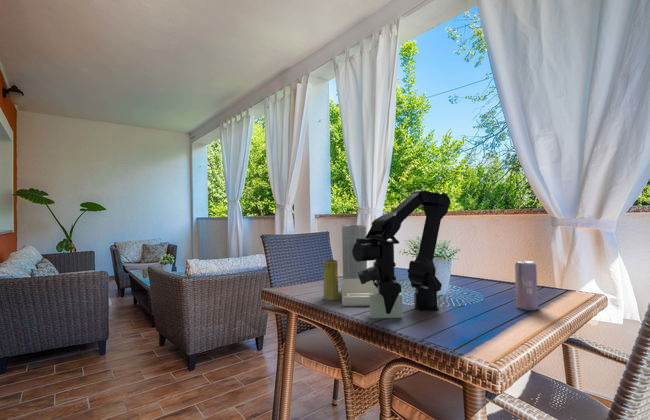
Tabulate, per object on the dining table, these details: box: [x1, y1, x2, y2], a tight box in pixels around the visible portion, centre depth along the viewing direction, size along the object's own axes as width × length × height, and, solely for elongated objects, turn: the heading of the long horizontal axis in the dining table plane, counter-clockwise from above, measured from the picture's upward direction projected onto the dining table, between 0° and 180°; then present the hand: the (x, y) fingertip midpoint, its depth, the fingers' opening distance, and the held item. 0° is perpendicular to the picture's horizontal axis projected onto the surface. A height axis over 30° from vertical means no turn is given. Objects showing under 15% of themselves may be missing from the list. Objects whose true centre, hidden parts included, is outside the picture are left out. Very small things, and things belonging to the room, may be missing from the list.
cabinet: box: [340, 278, 379, 307], centre depth 119 cm, size 16×13×7 cm
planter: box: [341, 224, 368, 279], centre depth 134 cm, size 10×10×27 cm
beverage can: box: [514, 260, 538, 311], centre depth 106 cm, size 6×6×15 cm
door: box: [369, 292, 403, 319], centre depth 100 cm, size 10×2×7 cm, turn 89°
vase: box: [322, 259, 340, 301], centre depth 123 cm, size 6×6×14 cm
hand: (385, 309), depth 100 cm, fingers open, 8 cm apart
